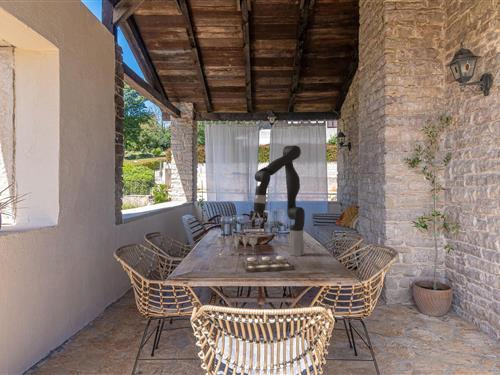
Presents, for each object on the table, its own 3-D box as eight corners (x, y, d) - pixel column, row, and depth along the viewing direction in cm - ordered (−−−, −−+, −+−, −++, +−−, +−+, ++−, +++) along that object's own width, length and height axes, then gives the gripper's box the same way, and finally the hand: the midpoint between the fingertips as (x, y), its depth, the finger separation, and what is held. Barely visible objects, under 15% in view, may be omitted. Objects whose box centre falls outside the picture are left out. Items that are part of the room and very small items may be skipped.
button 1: (254, 260, 230) (254, 257, 230) (256, 262, 225) (256, 259, 225) (246, 260, 229) (246, 257, 229) (248, 262, 224) (248, 259, 224)
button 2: (283, 258, 233) (283, 255, 233) (285, 260, 229) (285, 257, 228) (275, 259, 233) (275, 256, 232) (277, 261, 228) (277, 257, 228)
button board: (285, 263, 238) (285, 256, 237) (293, 269, 222) (293, 262, 222) (241, 265, 232) (241, 259, 232) (246, 272, 217) (246, 265, 216)
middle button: (269, 259, 232) (269, 256, 232) (271, 261, 227) (271, 258, 227) (261, 260, 231) (261, 256, 231) (263, 261, 226) (262, 258, 226)
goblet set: (216, 255, 260) (216, 236, 259) (217, 253, 266) (217, 235, 265) (257, 255, 261) (257, 236, 260) (257, 253, 266) (256, 234, 266)
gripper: (272, 203, 234) (269, 229, 234) (256, 202, 245) (254, 227, 244) (263, 202, 229) (260, 229, 229) (248, 201, 240) (245, 226, 240)
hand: (257, 228), depth 237 cm, fingers open, 8 cm apart
